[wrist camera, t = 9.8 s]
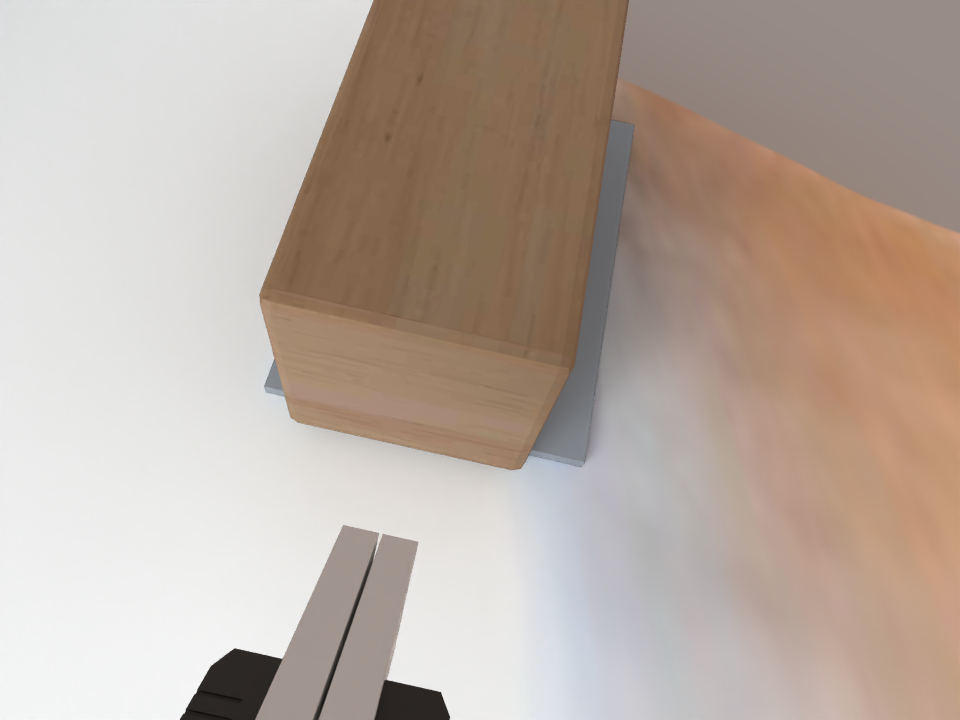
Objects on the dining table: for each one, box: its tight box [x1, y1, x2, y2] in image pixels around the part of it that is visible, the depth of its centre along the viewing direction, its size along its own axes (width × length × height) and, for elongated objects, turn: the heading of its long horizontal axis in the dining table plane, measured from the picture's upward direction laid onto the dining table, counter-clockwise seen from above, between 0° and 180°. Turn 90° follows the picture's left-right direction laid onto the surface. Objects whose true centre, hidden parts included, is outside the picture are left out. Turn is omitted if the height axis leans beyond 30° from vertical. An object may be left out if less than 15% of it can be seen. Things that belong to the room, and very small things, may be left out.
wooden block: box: [259, 0, 629, 470], centre depth 32 cm, size 10×10×20 cm
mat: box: [264, 119, 634, 467], centre depth 37 cm, size 20×14×1 cm
